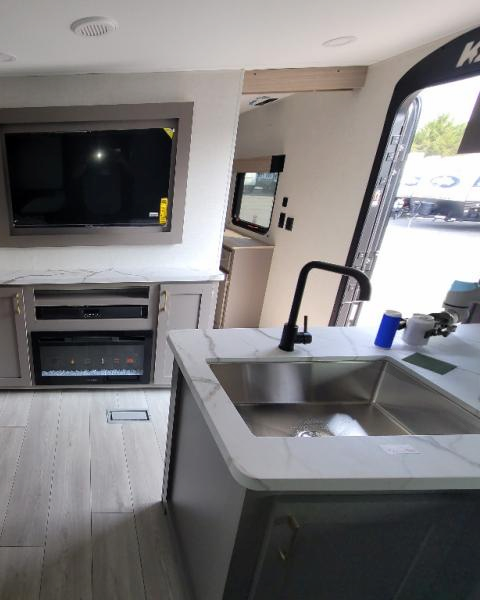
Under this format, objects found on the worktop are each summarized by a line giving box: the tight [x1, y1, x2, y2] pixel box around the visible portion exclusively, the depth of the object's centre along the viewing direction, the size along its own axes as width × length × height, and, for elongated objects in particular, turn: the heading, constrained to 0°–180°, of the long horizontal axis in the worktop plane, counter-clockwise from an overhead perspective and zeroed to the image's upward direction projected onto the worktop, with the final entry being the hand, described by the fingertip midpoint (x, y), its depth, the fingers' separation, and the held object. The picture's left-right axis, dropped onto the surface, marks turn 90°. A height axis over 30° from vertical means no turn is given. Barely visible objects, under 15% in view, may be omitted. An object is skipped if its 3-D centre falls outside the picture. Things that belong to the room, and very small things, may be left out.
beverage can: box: [373, 309, 403, 350], centre depth 128 cm, size 5×5×15 cm
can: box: [400, 312, 435, 348], centre depth 129 cm, size 8×8×12 cm
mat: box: [401, 351, 458, 375], centre depth 118 cm, size 11×11×1 cm
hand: (412, 331), depth 127 cm, fingers closed on can, 7 cm apart
